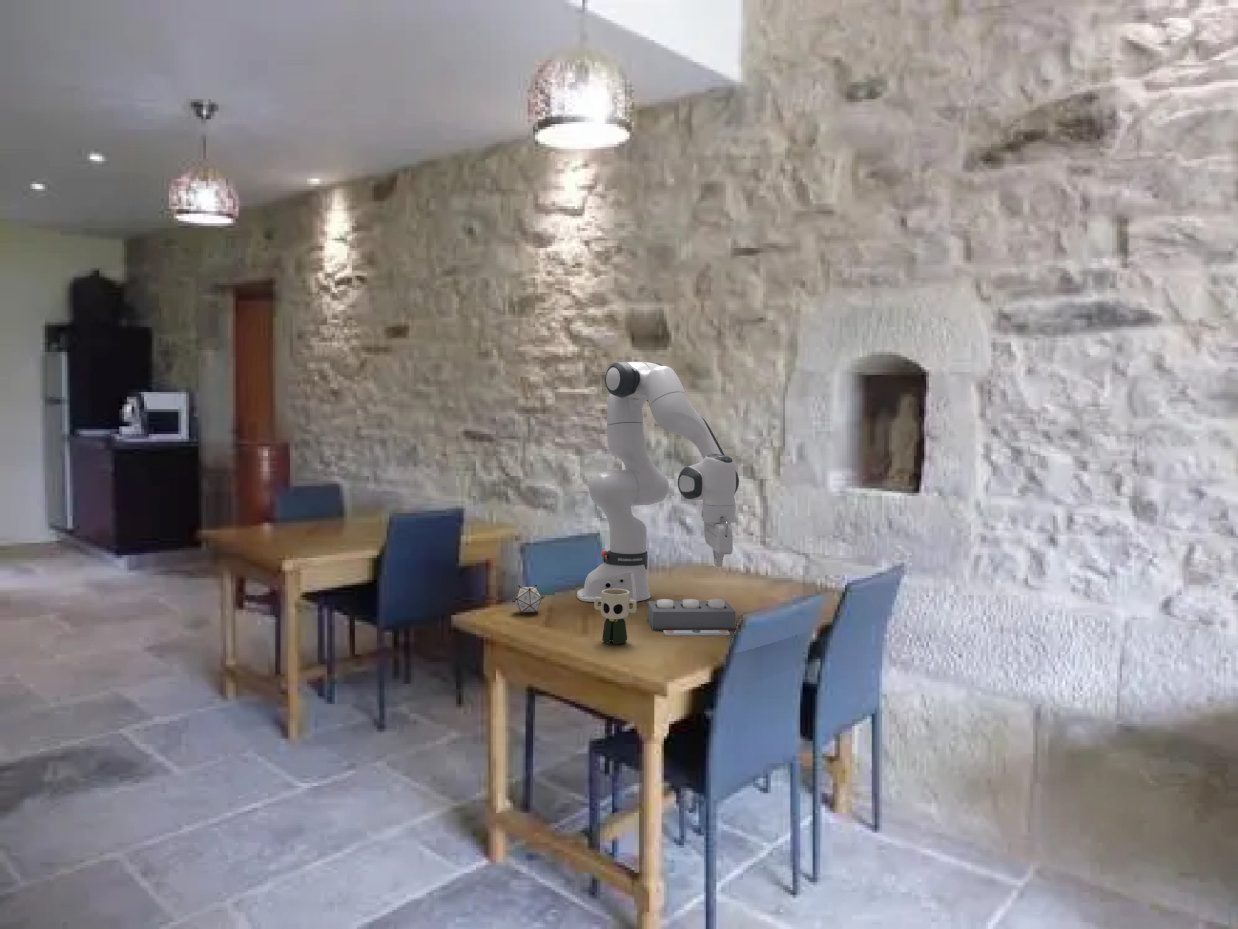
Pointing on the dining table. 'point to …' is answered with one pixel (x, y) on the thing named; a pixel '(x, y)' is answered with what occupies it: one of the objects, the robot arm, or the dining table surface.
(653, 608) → the button box
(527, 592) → the white spiked icosahedron
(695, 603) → the middle button
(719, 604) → the right button
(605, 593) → the character mug
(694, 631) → the pattern card
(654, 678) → the dining table surface
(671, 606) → the left button
